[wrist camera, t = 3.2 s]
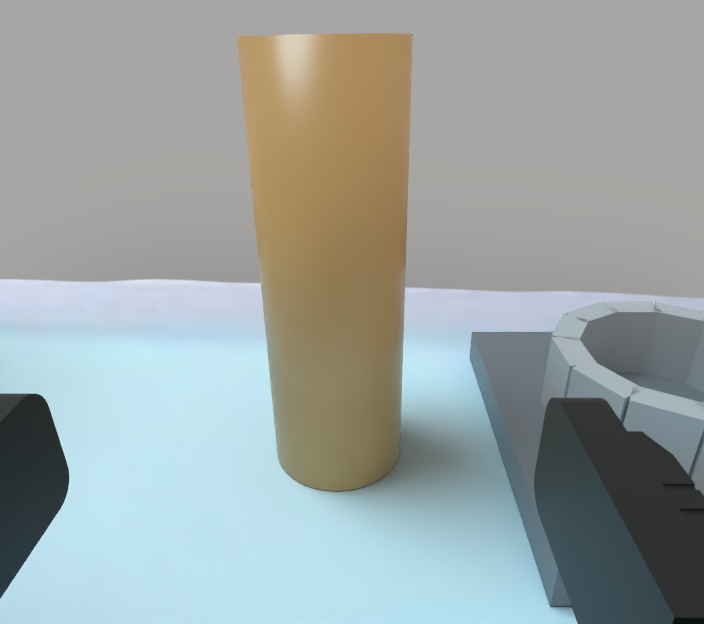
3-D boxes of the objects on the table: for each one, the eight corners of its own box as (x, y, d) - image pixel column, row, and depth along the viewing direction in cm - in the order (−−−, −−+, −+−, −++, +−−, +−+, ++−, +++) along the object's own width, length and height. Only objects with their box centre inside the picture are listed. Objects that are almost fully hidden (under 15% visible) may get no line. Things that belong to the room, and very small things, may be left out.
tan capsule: (251, 455, 22) (199, 37, 15) (329, 396, 25) (314, 37, 19) (351, 511, 19) (340, 33, 12) (422, 436, 23) (444, 33, 16)
